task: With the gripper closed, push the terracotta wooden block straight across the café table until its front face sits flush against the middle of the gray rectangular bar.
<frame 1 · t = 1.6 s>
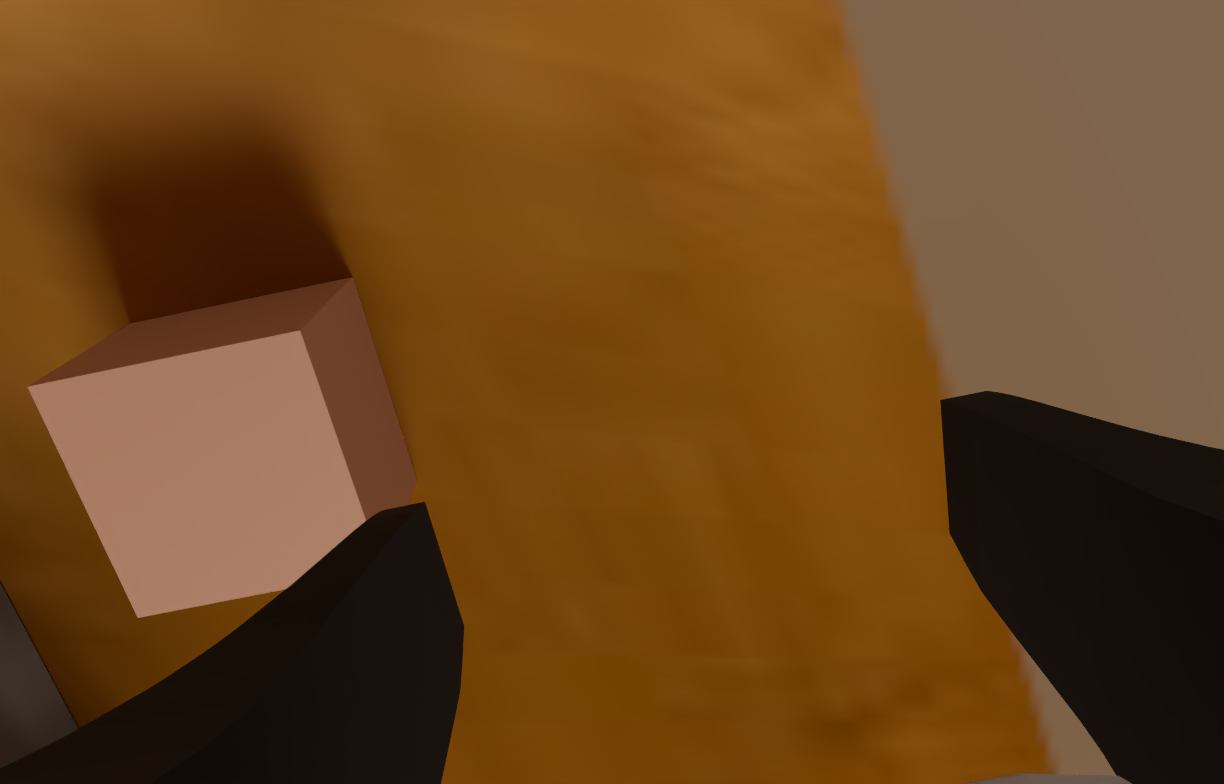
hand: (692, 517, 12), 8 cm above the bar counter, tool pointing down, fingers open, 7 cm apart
block: (281, 402, 20), on the bar counter
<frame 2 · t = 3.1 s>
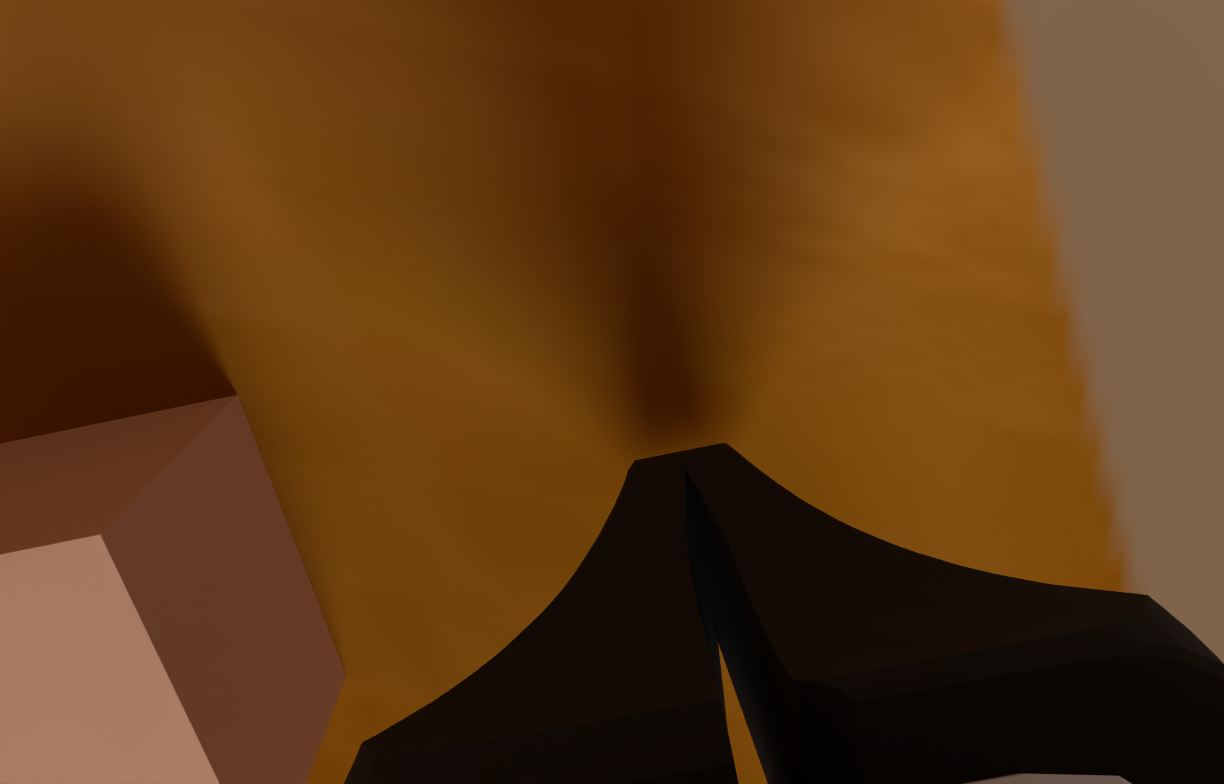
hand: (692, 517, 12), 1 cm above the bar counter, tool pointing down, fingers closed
block: (141, 570, 14), on the bar counter
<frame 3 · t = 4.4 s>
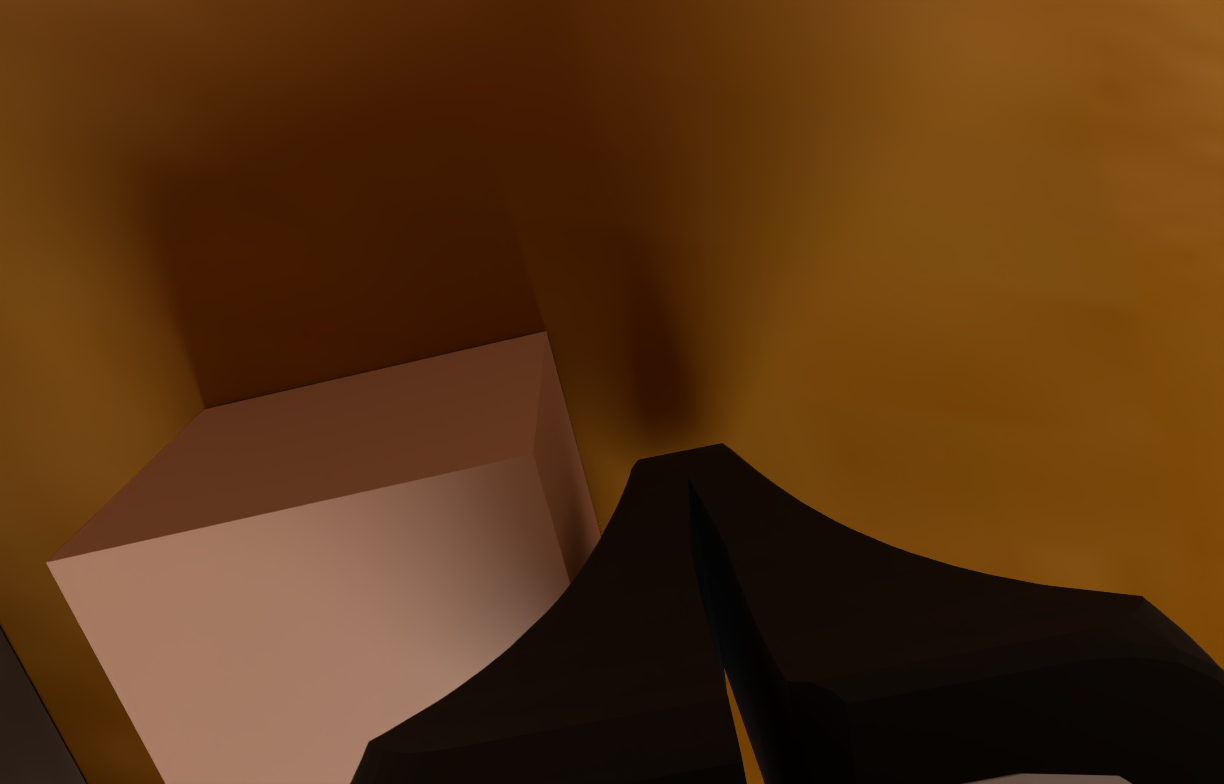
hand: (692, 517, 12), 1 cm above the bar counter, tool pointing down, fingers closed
block: (426, 522, 13), on the bar counter, touching gripper
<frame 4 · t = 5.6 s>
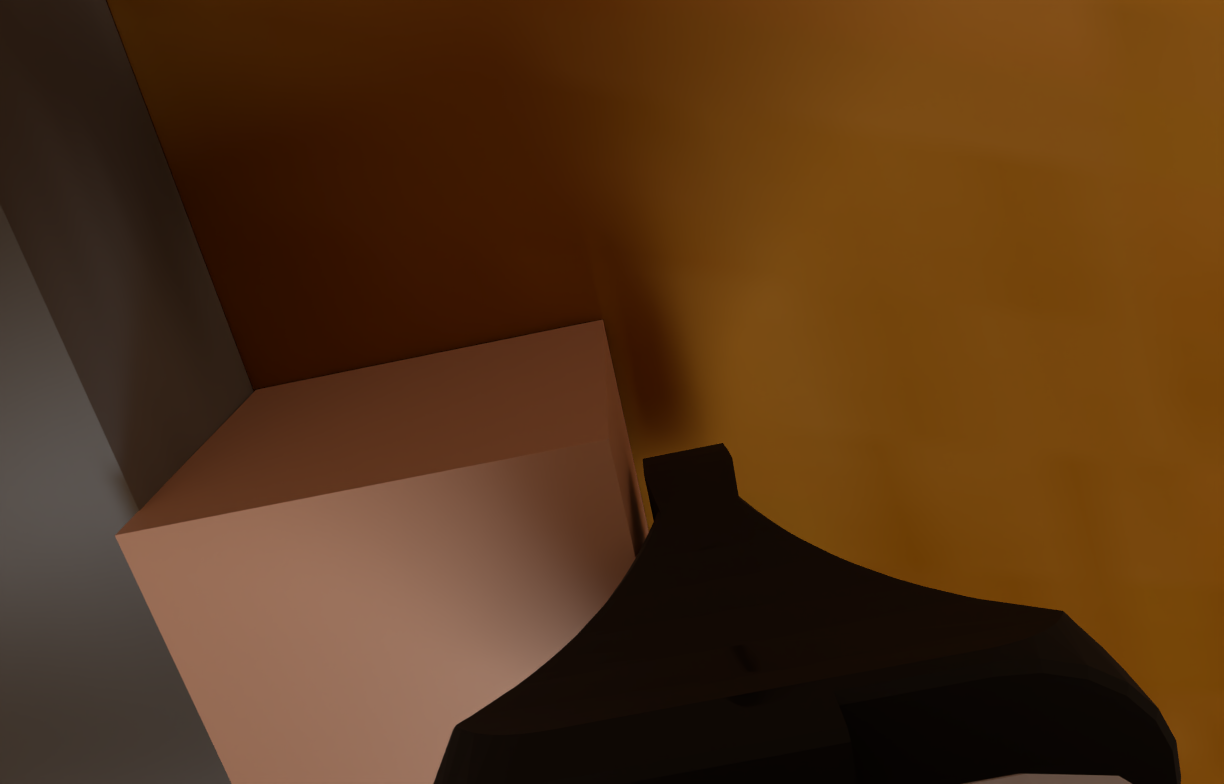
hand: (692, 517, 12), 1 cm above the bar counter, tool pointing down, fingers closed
block: (473, 509, 13), on the bar counter, touching gray rectangular bar, gripper
gray rectangular bar: (215, 563, 13), on the bar counter
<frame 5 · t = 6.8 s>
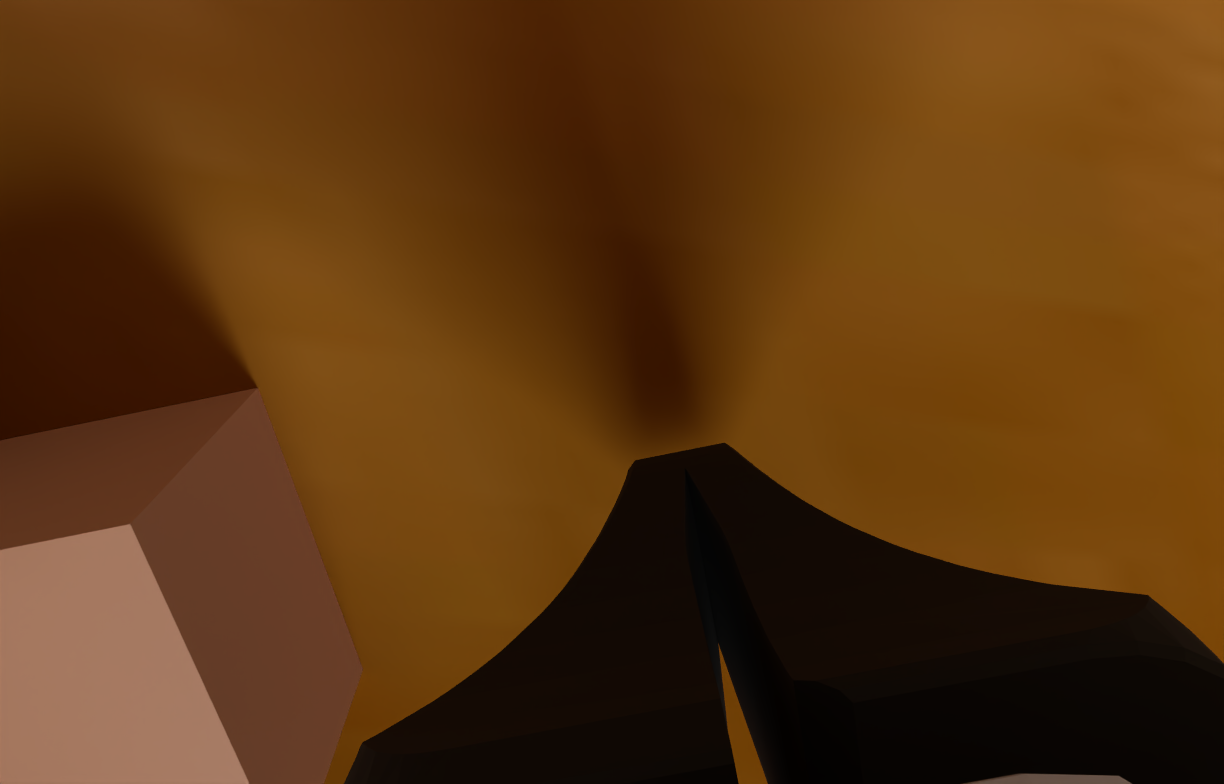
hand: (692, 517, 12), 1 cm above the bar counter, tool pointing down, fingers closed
block: (159, 564, 14), on the bar counter
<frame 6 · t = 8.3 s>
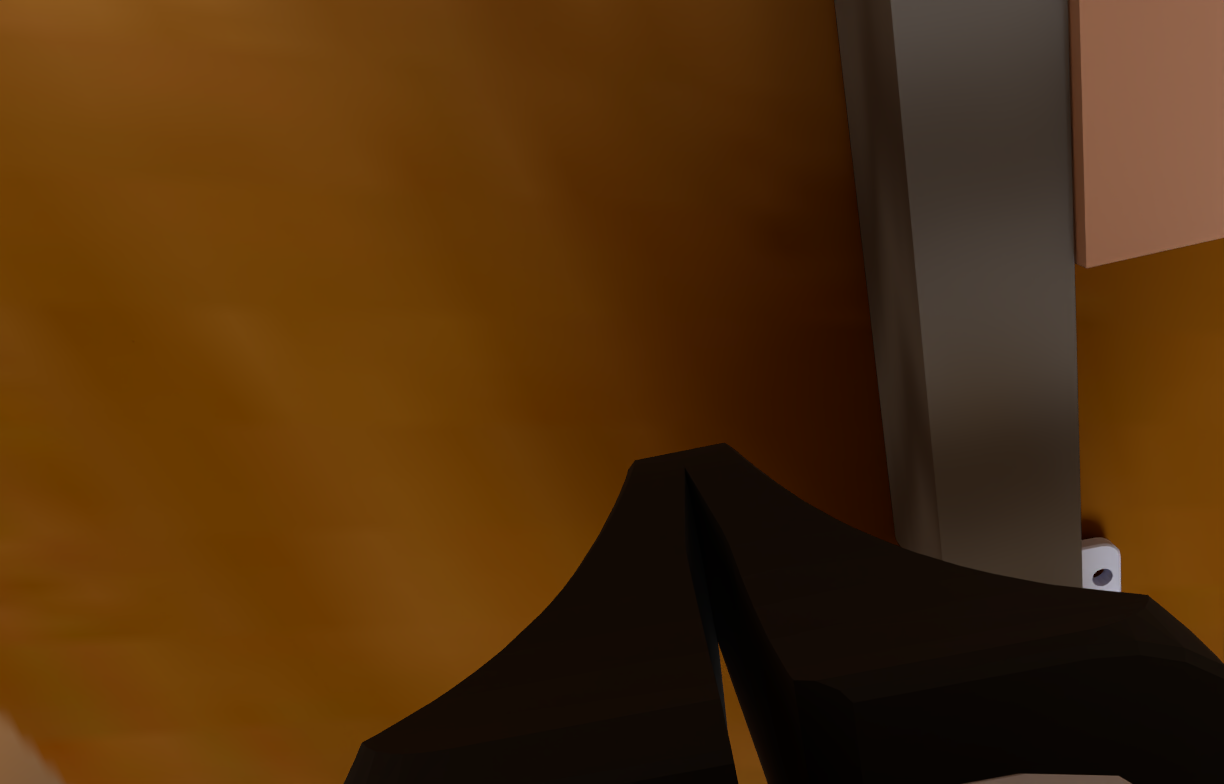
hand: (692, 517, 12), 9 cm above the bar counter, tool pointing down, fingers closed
block: (1100, 90, 19), on the bar counter
gray rectangular bar: (919, 135, 19), on the bar counter
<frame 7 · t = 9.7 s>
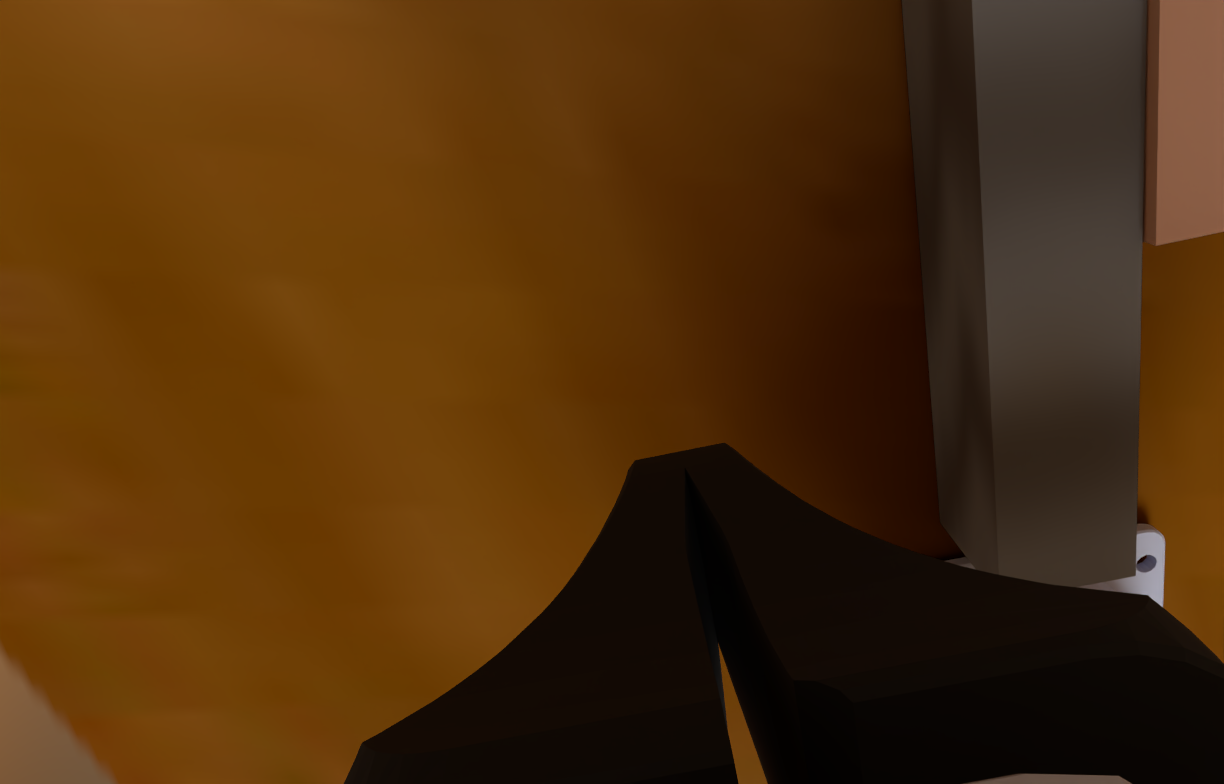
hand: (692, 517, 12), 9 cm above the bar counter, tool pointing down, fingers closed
block: (1161, 71, 19), on the bar counter
gray rectangular bar: (979, 114, 19), on the bar counter
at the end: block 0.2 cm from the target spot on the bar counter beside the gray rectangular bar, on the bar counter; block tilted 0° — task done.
